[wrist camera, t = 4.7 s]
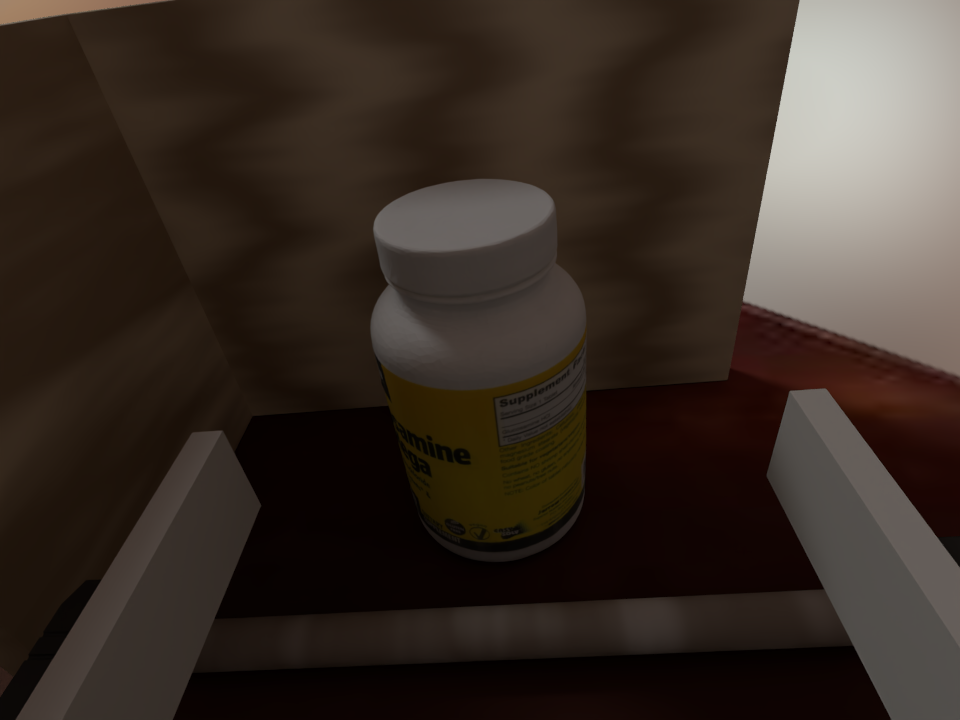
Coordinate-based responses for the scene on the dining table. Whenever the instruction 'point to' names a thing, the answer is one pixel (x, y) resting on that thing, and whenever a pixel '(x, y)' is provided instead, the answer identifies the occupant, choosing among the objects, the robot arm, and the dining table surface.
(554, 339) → the pill bottle
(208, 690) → the dining table surface
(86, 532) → the wooden corner wall
